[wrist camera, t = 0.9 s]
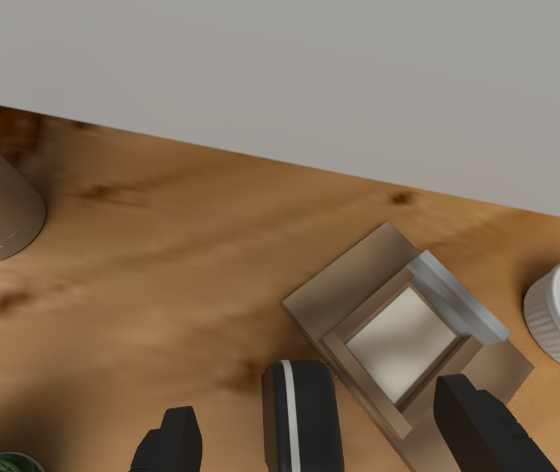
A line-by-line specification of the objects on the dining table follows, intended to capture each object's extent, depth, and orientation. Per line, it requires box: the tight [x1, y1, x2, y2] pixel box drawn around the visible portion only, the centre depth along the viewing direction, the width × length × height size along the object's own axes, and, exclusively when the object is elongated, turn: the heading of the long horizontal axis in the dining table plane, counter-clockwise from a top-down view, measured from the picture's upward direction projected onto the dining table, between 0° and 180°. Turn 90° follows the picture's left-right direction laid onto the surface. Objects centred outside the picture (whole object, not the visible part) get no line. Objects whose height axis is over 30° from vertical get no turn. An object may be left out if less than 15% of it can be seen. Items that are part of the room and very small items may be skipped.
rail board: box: [281, 221, 534, 472], centre depth 29 cm, size 19×15×5 cm
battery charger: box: [262, 360, 344, 472], centre depth 22 cm, size 7×4×11 cm, turn 4°
